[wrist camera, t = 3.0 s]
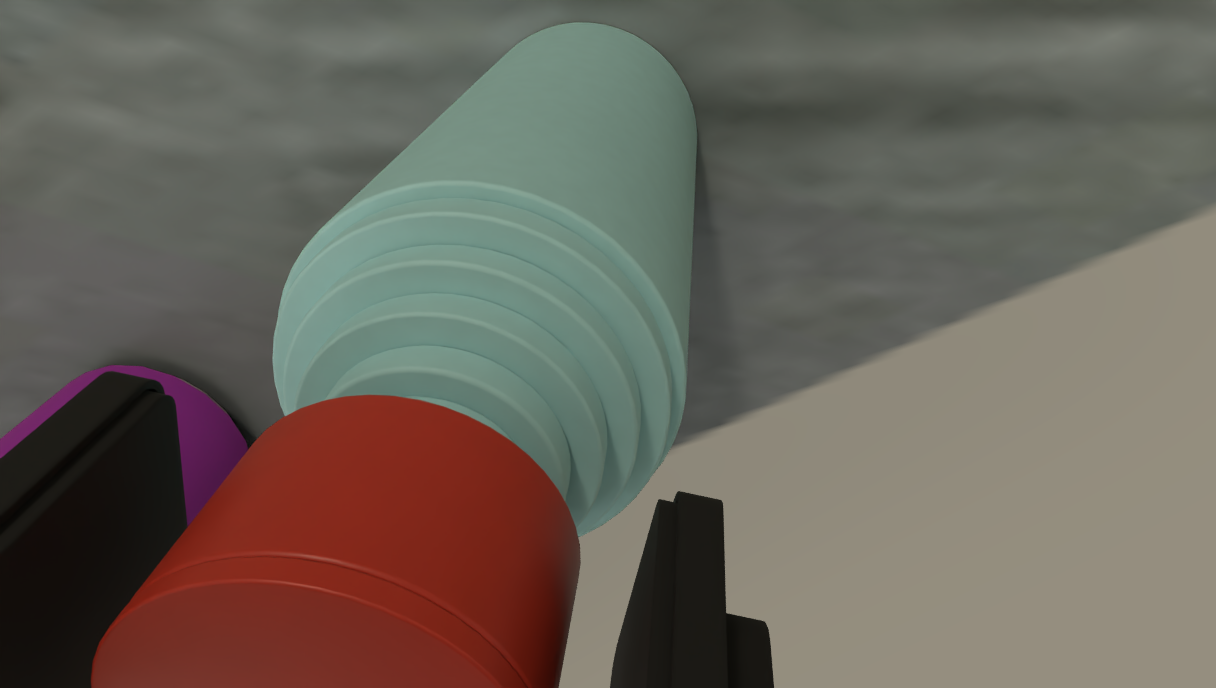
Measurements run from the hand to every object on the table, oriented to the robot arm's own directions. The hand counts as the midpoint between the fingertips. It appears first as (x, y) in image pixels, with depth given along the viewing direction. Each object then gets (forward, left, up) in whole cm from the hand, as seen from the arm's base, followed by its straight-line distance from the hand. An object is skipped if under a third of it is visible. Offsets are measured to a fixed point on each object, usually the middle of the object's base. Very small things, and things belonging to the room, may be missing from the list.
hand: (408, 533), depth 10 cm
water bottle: (0, 0, -17) cm, 17 cm away
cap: (0, 0, 0) cm, 0 cm away
